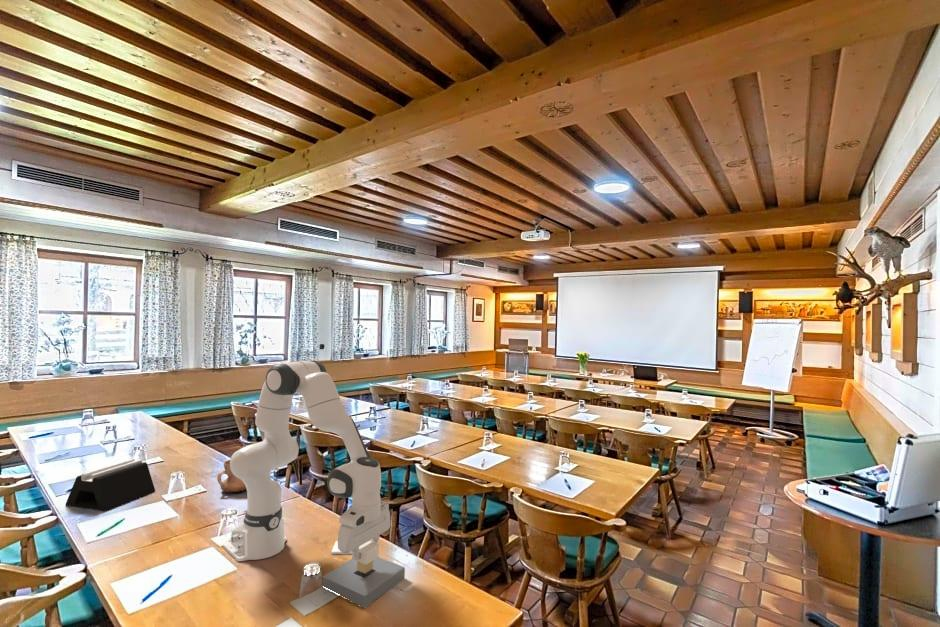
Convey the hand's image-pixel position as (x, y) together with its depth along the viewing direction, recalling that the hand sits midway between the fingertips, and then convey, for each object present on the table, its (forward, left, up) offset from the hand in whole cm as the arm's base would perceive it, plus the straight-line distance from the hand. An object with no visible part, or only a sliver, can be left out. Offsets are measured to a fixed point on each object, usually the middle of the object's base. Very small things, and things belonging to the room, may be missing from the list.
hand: (365, 554), depth 138 cm
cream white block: (0, 0, -5) cm, 5 cm away
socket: (0, 0, -9) cm, 9 cm away
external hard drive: (-20, +13, -10) cm, 25 cm away
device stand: (-143, -15, -10) cm, 144 cm away
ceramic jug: (-107, +22, -9) cm, 110 cm away
